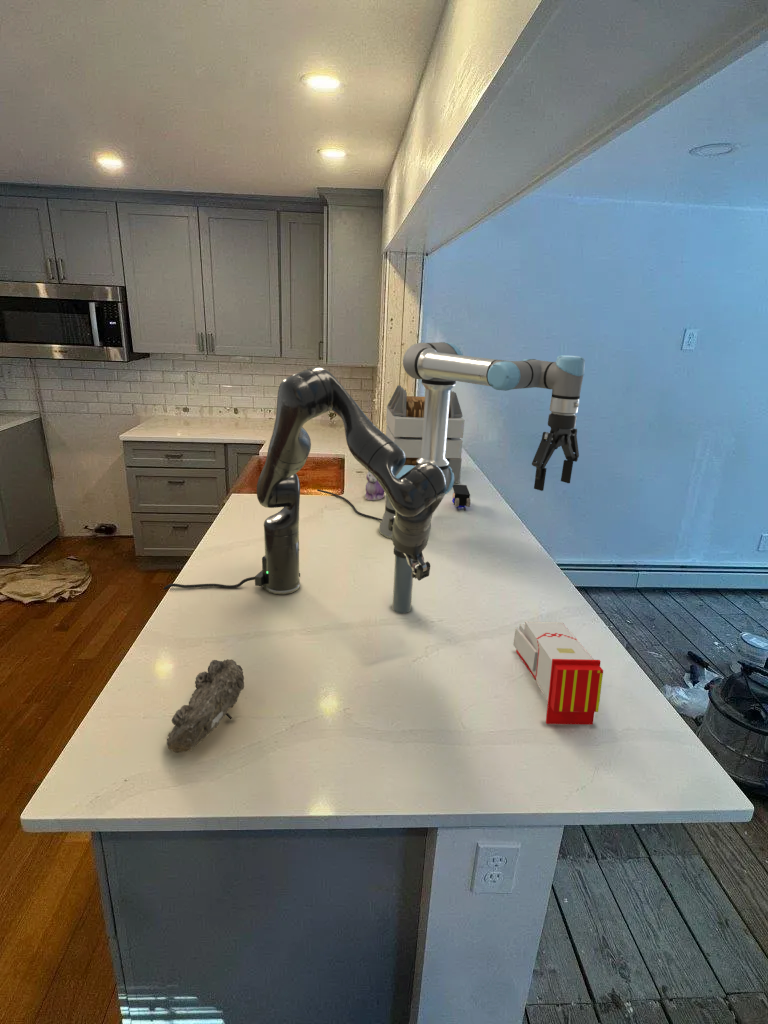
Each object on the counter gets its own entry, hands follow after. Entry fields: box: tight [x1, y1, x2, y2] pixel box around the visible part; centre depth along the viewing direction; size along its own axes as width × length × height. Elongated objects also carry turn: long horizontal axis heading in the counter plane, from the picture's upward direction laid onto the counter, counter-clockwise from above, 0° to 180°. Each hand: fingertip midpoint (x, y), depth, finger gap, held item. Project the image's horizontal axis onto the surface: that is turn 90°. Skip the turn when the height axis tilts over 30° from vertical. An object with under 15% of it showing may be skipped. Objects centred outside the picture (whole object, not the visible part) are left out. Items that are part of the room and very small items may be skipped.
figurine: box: [364, 470, 385, 501], centre depth 234 cm, size 9×10×15 cm
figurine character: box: [451, 483, 471, 512], centre depth 229 cm, size 7×8×15 cm
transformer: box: [385, 384, 465, 484], centre depth 268 cm, size 34×33×41 cm
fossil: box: [166, 658, 245, 754], centre depth 106 cm, size 22×10×15 cm
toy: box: [512, 621, 604, 726], centre depth 121 cm, size 12×13×30 cm
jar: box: [391, 555, 414, 614], centre depth 147 cm, size 5×5×17 cm
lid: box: [393, 546, 406, 558], centre depth 145 cm, size 6×6×2 cm
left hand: (406, 559), depth 129 cm, fingers open, 8 cm apart
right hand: (552, 485), depth 166 cm, fingers open, 13 cm apart
